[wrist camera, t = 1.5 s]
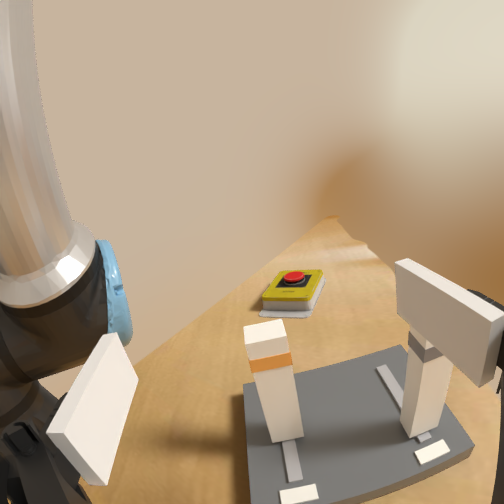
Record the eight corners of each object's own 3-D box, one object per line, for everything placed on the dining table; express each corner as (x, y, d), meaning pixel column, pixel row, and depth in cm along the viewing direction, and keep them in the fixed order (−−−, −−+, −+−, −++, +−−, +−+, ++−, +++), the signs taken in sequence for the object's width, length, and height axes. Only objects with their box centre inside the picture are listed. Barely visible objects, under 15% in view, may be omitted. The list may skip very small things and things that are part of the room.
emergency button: (324, 260, 62) (306, 297, 49) (327, 280, 63) (309, 321, 51) (281, 262, 66) (252, 297, 53) (284, 281, 68) (257, 319, 55)
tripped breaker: (304, 436, 26) (287, 336, 22) (271, 443, 26) (244, 344, 22) (300, 417, 28) (282, 318, 24) (269, 424, 28) (243, 326, 24)
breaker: (438, 426, 22) (461, 319, 18) (409, 438, 22) (426, 332, 18) (426, 409, 24) (443, 303, 21) (398, 420, 24) (409, 314, 21)
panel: (469, 456, 19) (475, 443, 18) (256, 524, 19) (251, 516, 19) (399, 356, 36) (400, 342, 36) (246, 395, 36) (242, 382, 36)
